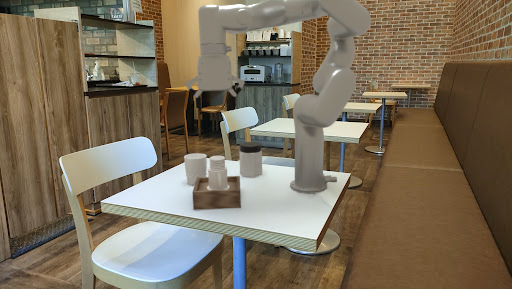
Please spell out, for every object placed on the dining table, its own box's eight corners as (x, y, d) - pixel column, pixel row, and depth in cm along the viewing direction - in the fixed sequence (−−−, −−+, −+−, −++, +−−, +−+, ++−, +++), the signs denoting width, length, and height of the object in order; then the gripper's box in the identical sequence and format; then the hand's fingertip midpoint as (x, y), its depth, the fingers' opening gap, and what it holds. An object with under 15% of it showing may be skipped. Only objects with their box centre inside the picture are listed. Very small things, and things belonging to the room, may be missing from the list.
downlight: (205, 184, 115) (204, 155, 113) (227, 182, 117) (226, 153, 114) (208, 194, 108) (207, 162, 105) (231, 192, 109) (230, 160, 107)
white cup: (203, 186, 126) (202, 159, 123) (182, 185, 127) (180, 158, 125) (210, 179, 133) (209, 153, 131) (190, 178, 135) (189, 152, 132)
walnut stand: (240, 191, 120) (239, 175, 119) (240, 208, 107) (240, 190, 105) (198, 193, 120) (197, 177, 118) (193, 209, 106) (192, 192, 105)
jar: (249, 179, 133) (249, 147, 130) (235, 174, 139) (234, 144, 136) (266, 173, 139) (266, 143, 137) (252, 169, 145) (251, 140, 142)
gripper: (243, 50, 108) (244, 107, 111) (184, 52, 107) (188, 109, 110) (244, 50, 100) (245, 111, 104) (181, 51, 99) (185, 112, 103)
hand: (216, 110), depth 107 cm, fingers open, 9 cm apart
